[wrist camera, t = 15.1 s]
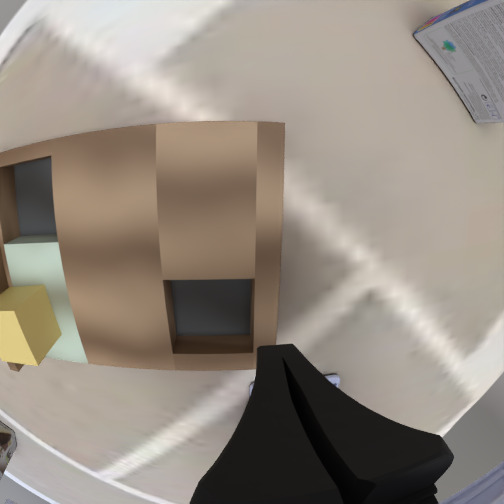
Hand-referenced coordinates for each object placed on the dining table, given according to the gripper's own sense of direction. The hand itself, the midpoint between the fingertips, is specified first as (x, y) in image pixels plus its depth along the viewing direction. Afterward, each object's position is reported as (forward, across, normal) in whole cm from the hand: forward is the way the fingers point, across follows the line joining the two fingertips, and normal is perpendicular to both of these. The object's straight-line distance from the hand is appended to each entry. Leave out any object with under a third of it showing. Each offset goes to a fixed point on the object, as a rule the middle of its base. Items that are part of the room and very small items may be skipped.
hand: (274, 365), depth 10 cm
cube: (+7, +16, +2) cm, 18 cm away
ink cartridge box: (+10, -18, -18) cm, 27 cm away
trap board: (+10, +9, -2) cm, 13 cm away
